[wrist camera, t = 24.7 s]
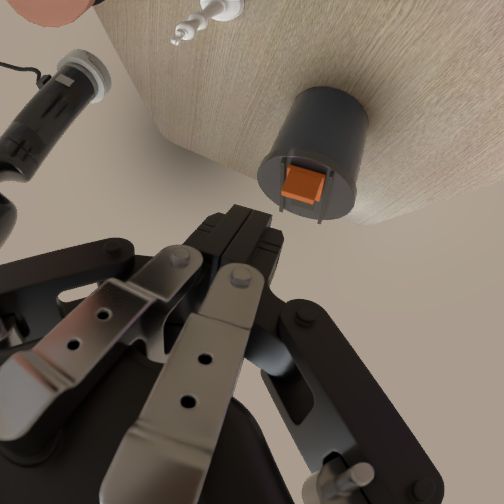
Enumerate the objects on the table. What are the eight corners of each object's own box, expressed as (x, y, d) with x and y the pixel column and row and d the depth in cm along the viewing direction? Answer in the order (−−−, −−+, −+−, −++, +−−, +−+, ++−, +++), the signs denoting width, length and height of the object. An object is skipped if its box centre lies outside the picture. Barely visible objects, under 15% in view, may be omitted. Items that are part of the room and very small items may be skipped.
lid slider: (287, 188, 32) (277, 212, 30) (288, 163, 28) (277, 189, 27) (320, 198, 31) (312, 223, 30) (326, 174, 27) (317, 201, 26)
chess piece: (250, -7, 23) (204, 30, 19) (235, 26, 27) (191, 70, 24) (209, -23, 22) (153, 12, 18) (197, 10, 26) (146, 52, 23)
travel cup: (289, 135, 42) (257, 208, 37) (290, 76, 32) (251, 149, 27) (361, 156, 39) (342, 235, 35) (379, 99, 30) (364, 182, 25)
